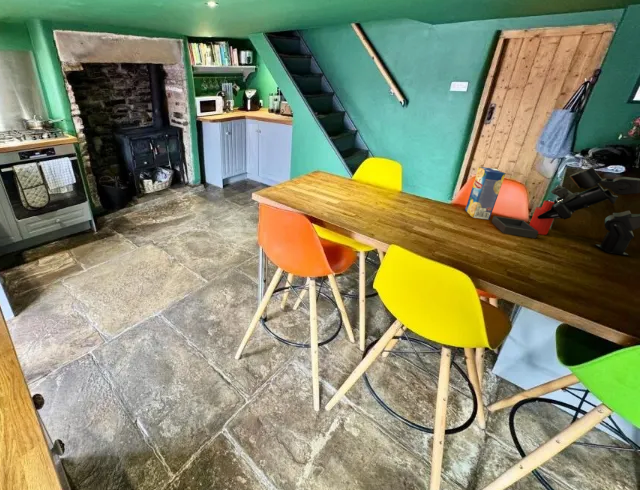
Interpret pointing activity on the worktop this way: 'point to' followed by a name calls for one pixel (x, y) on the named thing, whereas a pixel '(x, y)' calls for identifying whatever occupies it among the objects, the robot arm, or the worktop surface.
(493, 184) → the cracker box
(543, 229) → the ketchup bottle
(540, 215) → the robot arm
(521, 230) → the tray
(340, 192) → the worktop surface
